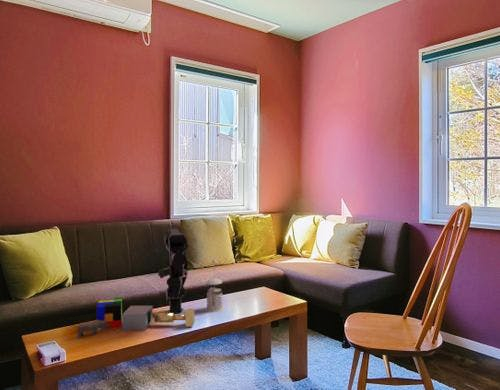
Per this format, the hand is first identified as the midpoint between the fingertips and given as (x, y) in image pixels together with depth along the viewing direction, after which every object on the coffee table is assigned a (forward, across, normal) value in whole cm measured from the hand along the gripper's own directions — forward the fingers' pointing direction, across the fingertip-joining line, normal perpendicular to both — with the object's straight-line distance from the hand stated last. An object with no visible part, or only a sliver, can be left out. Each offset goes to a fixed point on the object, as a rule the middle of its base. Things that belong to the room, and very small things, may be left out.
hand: (177, 295), depth 181 cm
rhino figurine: (+12, +15, -33) cm, 38 cm away
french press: (+12, -17, +15) cm, 26 cm away
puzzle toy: (+12, +4, -30) cm, 33 cm away
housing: (+12, +5, -17) cm, 21 cm away
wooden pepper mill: (+11, +5, -1) cm, 13 cm away
